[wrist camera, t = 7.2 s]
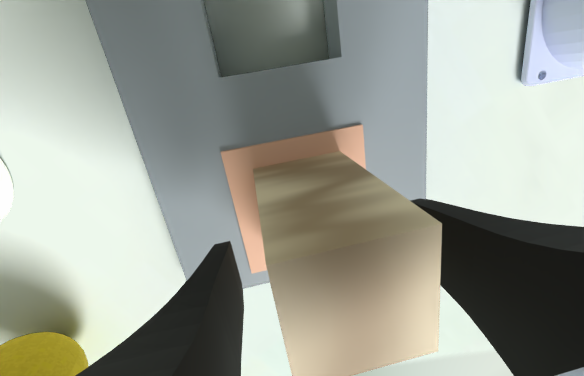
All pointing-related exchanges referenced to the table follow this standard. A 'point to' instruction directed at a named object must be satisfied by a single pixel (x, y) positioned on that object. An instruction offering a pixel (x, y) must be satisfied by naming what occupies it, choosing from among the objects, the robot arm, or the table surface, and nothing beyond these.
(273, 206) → the peg
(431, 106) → the table surface
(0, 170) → the beer glass
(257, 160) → the pocket board
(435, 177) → the table surface
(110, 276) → the table surface
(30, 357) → the lemon
